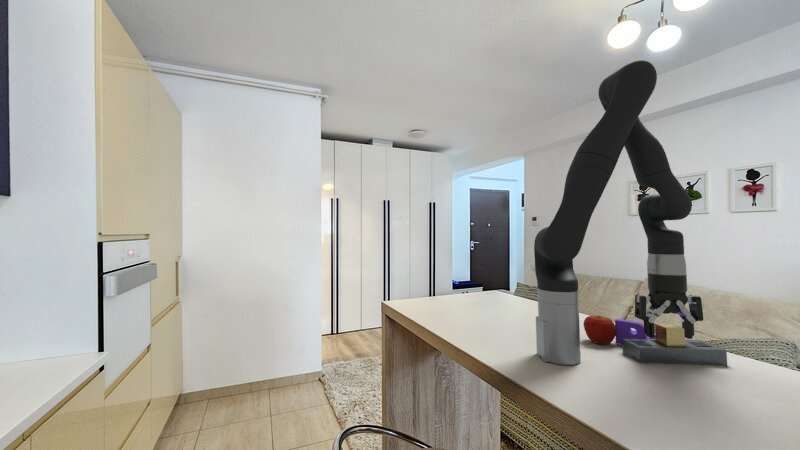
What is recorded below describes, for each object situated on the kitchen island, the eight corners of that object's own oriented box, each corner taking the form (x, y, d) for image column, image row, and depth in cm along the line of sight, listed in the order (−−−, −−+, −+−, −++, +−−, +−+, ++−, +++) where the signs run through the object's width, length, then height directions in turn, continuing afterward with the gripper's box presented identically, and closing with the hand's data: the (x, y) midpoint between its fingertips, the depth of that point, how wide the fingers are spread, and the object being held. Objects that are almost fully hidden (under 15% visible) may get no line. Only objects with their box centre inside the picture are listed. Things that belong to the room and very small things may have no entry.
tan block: (667, 361, 77) (666, 328, 77) (656, 355, 81) (654, 323, 81) (685, 361, 77) (684, 328, 77) (673, 355, 81) (671, 323, 81)
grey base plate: (640, 362, 76) (639, 347, 76) (622, 352, 83) (622, 338, 83) (727, 365, 74) (726, 349, 74) (702, 354, 81) (701, 339, 81)
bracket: (645, 350, 85) (644, 324, 85) (615, 344, 90) (614, 320, 90) (655, 340, 93) (654, 317, 93) (627, 335, 98) (626, 313, 98)
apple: (610, 349, 85) (609, 320, 86) (579, 342, 92) (578, 314, 92) (620, 343, 90) (619, 315, 91) (590, 336, 96) (589, 310, 97)
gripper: (645, 273, 77) (648, 341, 76) (710, 273, 75) (713, 343, 75) (626, 270, 84) (629, 332, 83) (685, 270, 83) (688, 333, 82)
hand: (669, 337), depth 79 cm, fingers open, 8 cm apart
